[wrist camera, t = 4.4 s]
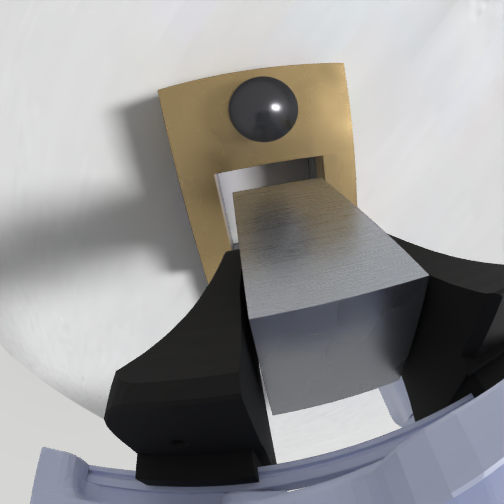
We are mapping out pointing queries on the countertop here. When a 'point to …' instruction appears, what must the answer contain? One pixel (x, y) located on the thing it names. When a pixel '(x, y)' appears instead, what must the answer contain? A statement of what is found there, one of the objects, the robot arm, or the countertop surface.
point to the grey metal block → (324, 294)
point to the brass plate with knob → (255, 137)
